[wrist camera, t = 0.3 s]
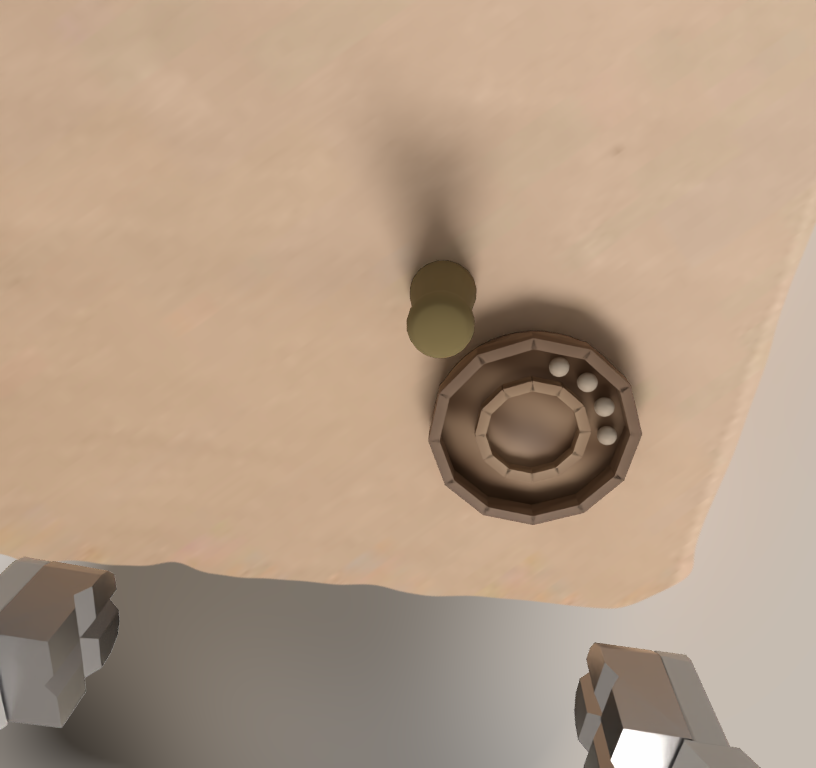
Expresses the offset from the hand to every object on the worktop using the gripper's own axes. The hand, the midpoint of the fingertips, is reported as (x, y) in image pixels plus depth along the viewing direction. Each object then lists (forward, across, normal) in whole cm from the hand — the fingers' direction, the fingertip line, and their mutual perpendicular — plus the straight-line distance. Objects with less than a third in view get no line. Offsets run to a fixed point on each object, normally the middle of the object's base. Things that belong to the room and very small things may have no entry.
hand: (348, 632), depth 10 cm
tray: (+46, -12, +18) cm, 51 cm away
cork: (+46, -2, +6) cm, 46 cm away
